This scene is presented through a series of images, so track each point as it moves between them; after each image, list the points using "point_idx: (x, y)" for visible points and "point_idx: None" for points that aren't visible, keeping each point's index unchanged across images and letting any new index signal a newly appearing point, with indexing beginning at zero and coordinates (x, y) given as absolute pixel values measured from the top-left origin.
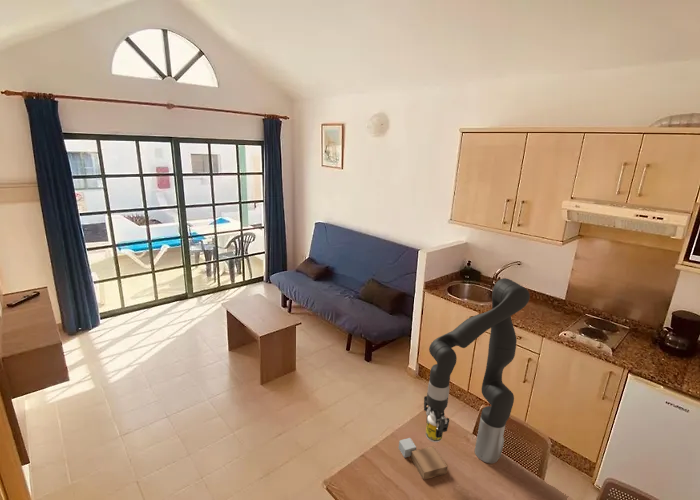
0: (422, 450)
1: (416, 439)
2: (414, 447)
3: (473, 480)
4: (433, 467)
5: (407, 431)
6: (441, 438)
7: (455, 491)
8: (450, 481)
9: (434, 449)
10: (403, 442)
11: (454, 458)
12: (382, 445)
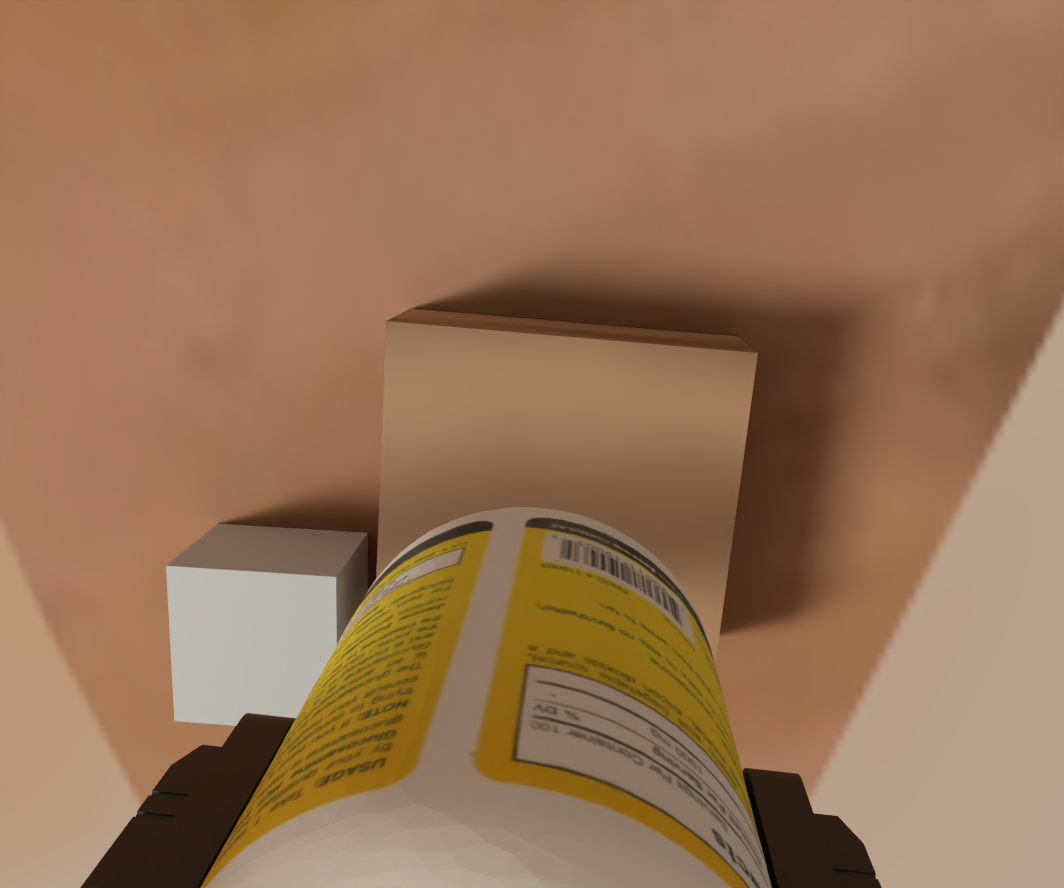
0: (407, 523)
1: (158, 388)
2: (335, 603)
3: (969, 55)
4: (694, 544)
5: (8, 425)
6: (701, 624)
7: (979, 386)
8: (846, 358)
9: (445, 353)
10: (219, 691)
11: (586, 76)
12: (142, 802)
